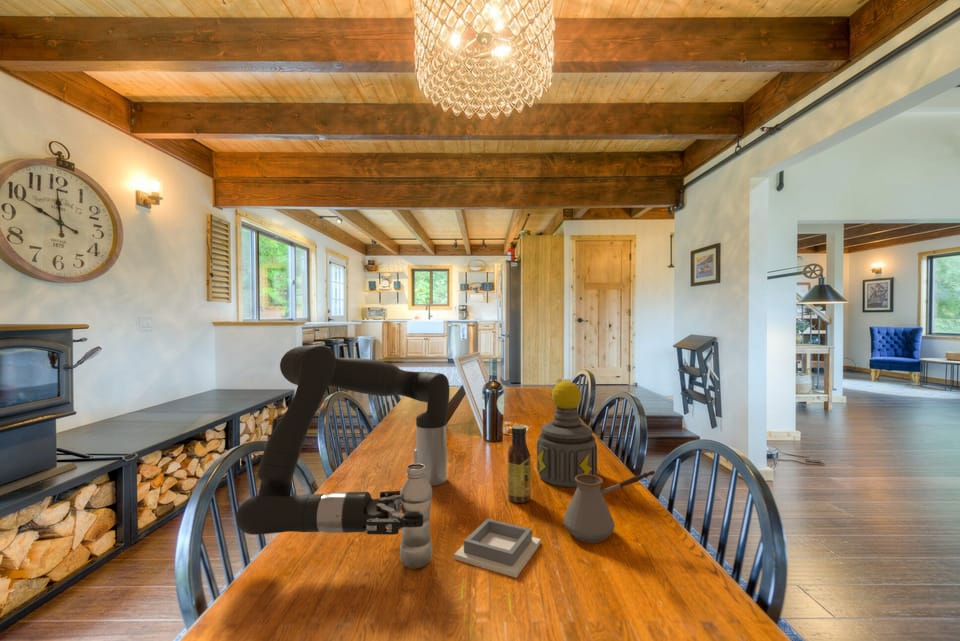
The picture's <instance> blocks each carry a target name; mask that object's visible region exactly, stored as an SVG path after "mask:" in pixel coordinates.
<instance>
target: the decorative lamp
mask: <svg viewBox="0 0 960 641" xmlns="http://www.w3.org/2000/svg"><path fill="white" fill-rule="evenodd" d="M551 399H552V401H553V404H554V406H555V409H554V411H555V412H554V414H553V417H554V418H553V419H552V421H550V422H547V423H545V424H543V425H542V426H541V428H540V429H541V433H540V434H539V435H538V439H537V442H536V470H537V472H538V476H539V478H541V480H543V481H544V482H545V483H547V484H550V485H553V486H556V485H557V486H556V487H561V488H562V487H564V488H577V487H578V486H577V482H576V481H575V476H577V475H580V474H591V475H596V476H597V475H598V445H597V442H596V438H595V437H594V435H593V429H592V427H591V426H589V425H587V424H585V423H582V422H581V420H580V414H579V413H578V412H579V411H578V410H579V409H578V407H579V405H580V403H581V401H582V392H581V390H580V388H579V387H578V386H577V385H576V383H573V382H572V381H567V380H566V381H561V382H559V383H557V384H556V385H555V386H554V387H553V388H552V392H551Z"/></svg>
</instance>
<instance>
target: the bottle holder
mask: <svg viewBox="0 0 960 641" xmlns="http://www.w3.org/2000/svg"><path fill="white" fill-rule="evenodd" d="M541 543H542V539H541V538H538V537H534V536H533V529H532V528H528V527H523V526H520V525H516V524H513V523H508V522H504V521H499V520H495V519H491V518H486V519H485V520H484V521H483V522H482V523H481V524H480V525H479V526H478V527H477V528H476V529H474V531H472V532H471V533H470V534H469V535H468V536H467V537H466V538H465V539H463V545H462V546H461V547H460V548H459V549H458V550H457V551H456V552H455V553H454V554H453V560H456V561H460V562H462V563H466V564H468V565H469V564H470V565H472V566H476V567H479V568H483V569H485V570H489V571H491V572H492V571H493V572H495V573H499V574H501V575H505V576H509V577H512V578H516V579H517V577H518V576H519V575H520V574H521V573H522V570H523V569H524V568H525V566H526V565H527V563H528V562H529V561H530V559H531V558H532V556H533V555H534V554H535V552H536V551H537V549H538V548H539V546H540V545H541Z"/></svg>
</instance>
